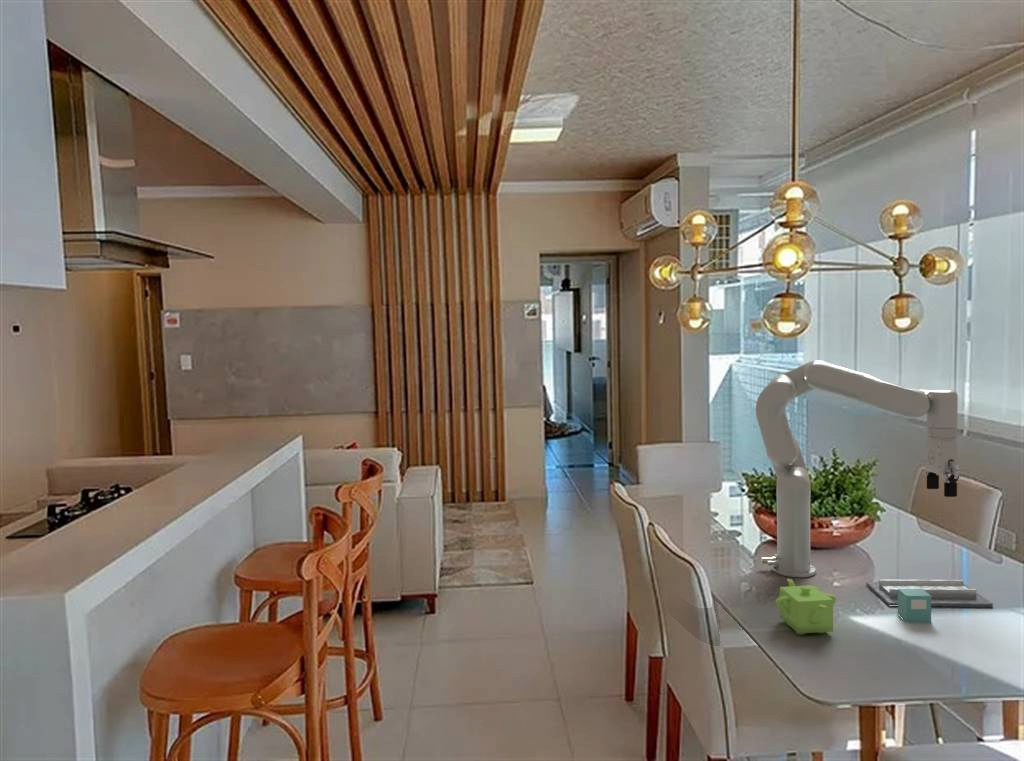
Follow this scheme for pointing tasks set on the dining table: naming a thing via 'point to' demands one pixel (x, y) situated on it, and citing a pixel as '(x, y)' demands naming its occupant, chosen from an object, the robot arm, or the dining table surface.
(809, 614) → the teapot
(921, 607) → the block
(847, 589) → the dining table surface
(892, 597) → the rail board
